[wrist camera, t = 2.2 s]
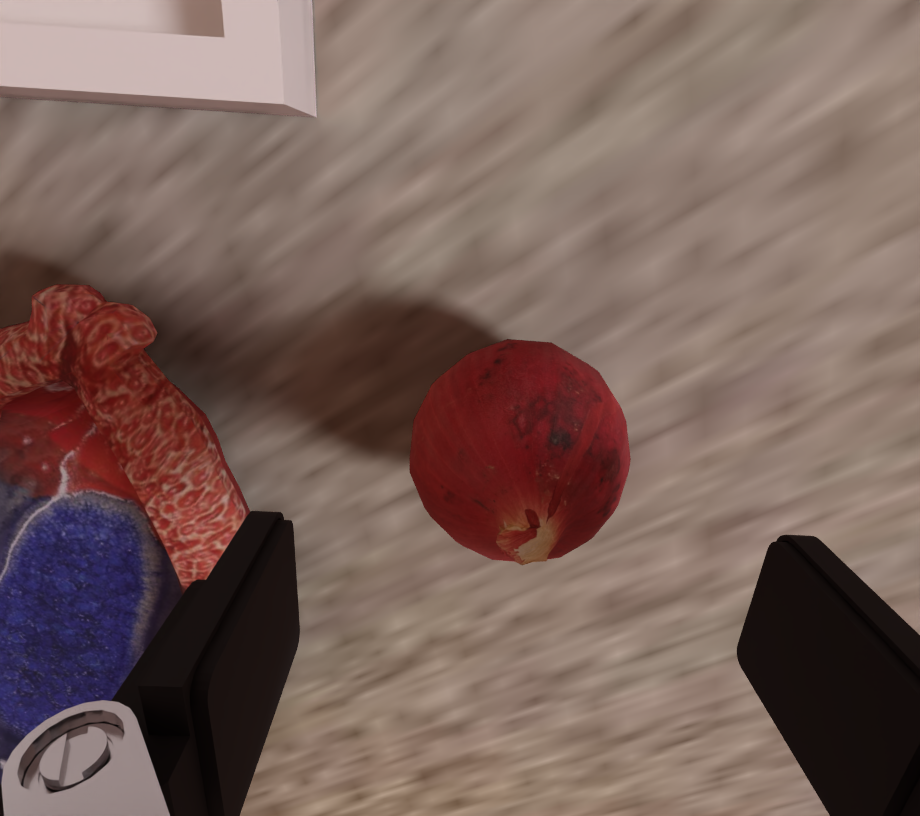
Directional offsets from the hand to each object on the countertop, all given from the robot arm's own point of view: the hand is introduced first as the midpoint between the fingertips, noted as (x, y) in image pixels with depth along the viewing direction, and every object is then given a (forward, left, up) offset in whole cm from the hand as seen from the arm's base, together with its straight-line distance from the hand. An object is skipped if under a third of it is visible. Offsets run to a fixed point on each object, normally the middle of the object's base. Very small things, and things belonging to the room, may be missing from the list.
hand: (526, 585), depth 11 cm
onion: (-1, 0, -9) cm, 9 cm away
